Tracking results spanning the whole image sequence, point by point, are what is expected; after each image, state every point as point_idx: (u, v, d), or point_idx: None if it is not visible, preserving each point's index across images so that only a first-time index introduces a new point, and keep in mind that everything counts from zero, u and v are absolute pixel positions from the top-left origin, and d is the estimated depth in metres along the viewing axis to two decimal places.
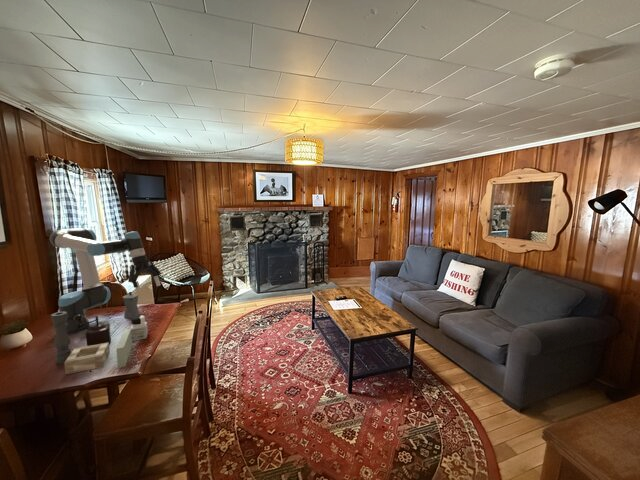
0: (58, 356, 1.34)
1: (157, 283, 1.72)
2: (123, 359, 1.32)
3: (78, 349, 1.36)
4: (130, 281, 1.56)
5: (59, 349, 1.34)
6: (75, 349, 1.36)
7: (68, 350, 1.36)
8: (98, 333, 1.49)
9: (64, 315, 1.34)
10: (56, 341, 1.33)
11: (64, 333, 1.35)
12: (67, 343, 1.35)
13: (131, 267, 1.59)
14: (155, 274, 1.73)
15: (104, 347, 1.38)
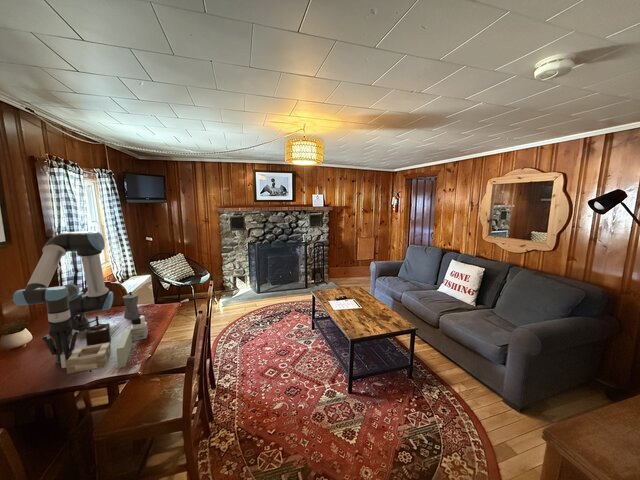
0: None
1: None
2: (123, 359, 1.32)
3: (79, 349, 1.36)
4: None
5: None
6: (76, 349, 1.36)
7: None
8: (98, 333, 1.49)
9: None
10: None
11: None
12: None
13: None
14: None
15: (105, 347, 1.38)
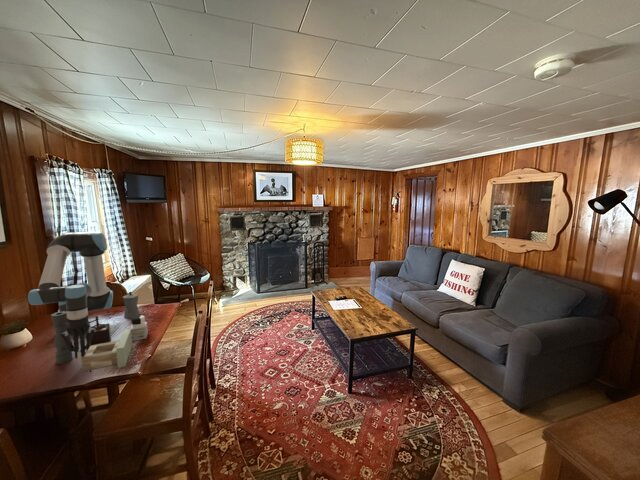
0: (58, 356, 1.34)
1: None
2: (123, 359, 1.32)
3: (94, 346, 1.39)
4: (70, 350, 1.29)
5: (59, 349, 1.34)
6: (91, 346, 1.39)
7: (68, 350, 1.36)
8: (98, 333, 1.49)
9: (64, 315, 1.34)
10: (56, 341, 1.33)
11: None
12: None
13: None
14: None
15: None
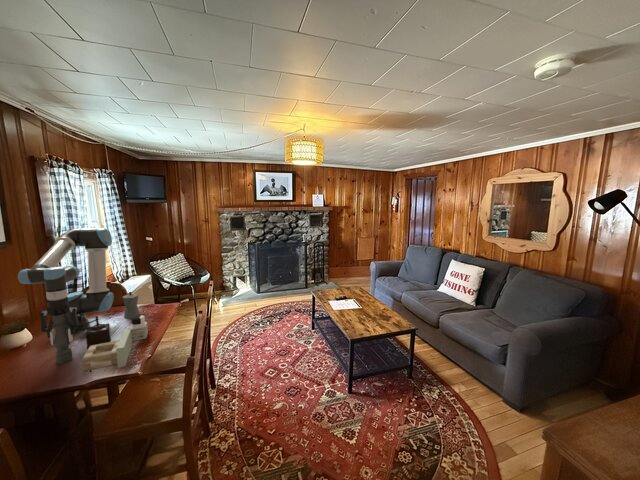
0: (58, 356, 1.34)
1: None
2: (123, 359, 1.32)
3: (94, 346, 1.39)
4: None
5: (59, 349, 1.34)
6: (91, 346, 1.39)
7: (68, 350, 1.36)
8: (98, 333, 1.49)
9: None
10: (56, 341, 1.33)
11: (64, 333, 1.35)
12: (67, 343, 1.35)
13: None
14: None
15: None
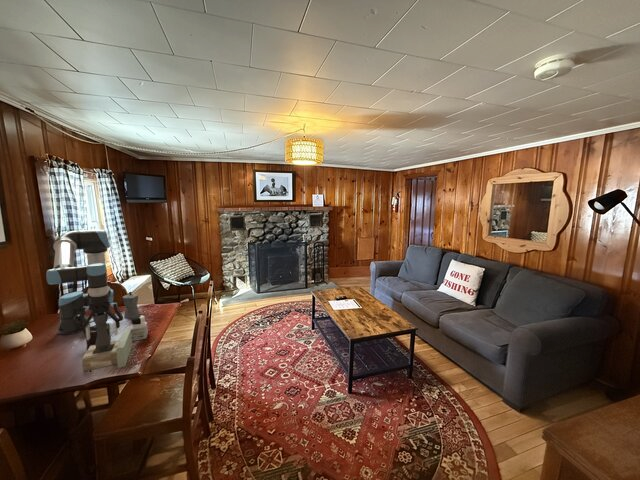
0: None
1: None
2: (123, 359, 1.32)
3: (94, 346, 1.39)
4: None
5: (101, 349, 1.34)
6: (91, 346, 1.39)
7: (109, 350, 1.37)
8: None
9: (105, 315, 1.34)
10: (98, 341, 1.33)
11: (105, 333, 1.35)
12: (108, 343, 1.36)
13: None
14: None
15: None
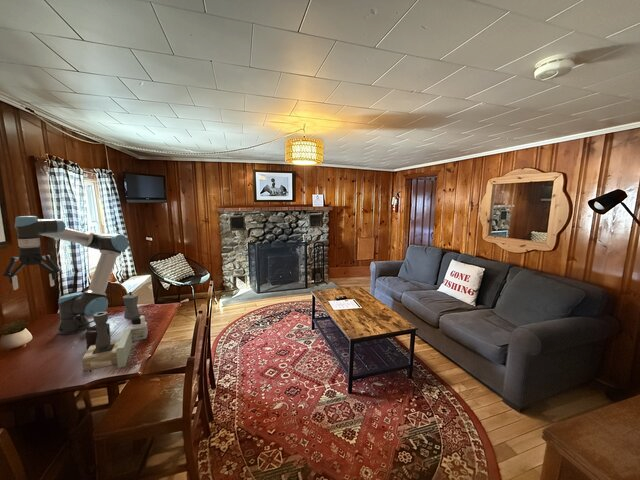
0: None
1: None
2: (123, 359, 1.32)
3: (94, 346, 1.39)
4: None
5: (101, 349, 1.34)
6: (91, 346, 1.39)
7: (109, 350, 1.37)
8: None
9: (105, 315, 1.34)
10: (98, 341, 1.33)
11: (105, 333, 1.35)
12: (108, 343, 1.36)
13: None
14: None
15: None
